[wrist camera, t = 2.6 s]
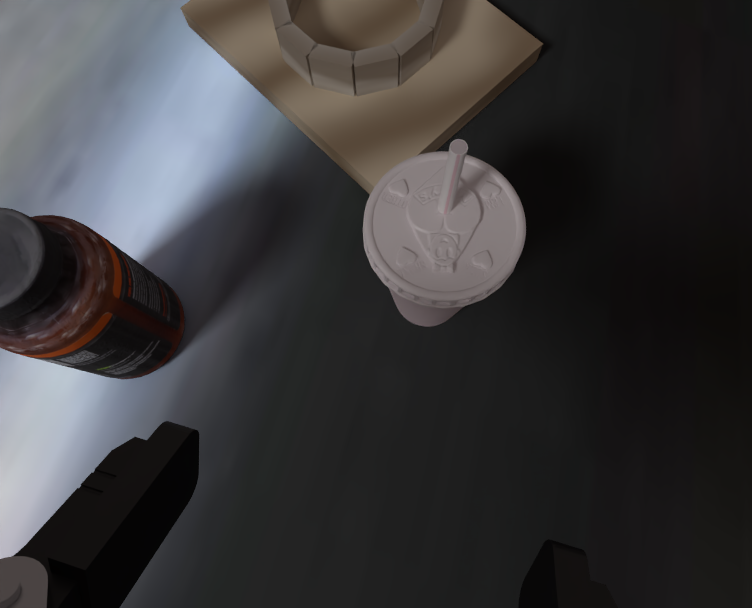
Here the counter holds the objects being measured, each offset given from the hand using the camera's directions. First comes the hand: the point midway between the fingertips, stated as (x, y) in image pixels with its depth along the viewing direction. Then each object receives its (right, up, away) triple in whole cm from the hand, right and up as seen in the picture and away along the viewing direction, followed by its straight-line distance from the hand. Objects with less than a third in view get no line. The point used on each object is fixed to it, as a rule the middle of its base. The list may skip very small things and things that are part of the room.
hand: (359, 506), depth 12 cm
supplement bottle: (-13, +3, +18) cm, 22 cm away
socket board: (-1, +21, +23) cm, 31 cm away
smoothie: (+3, +5, +18) cm, 19 cm away
